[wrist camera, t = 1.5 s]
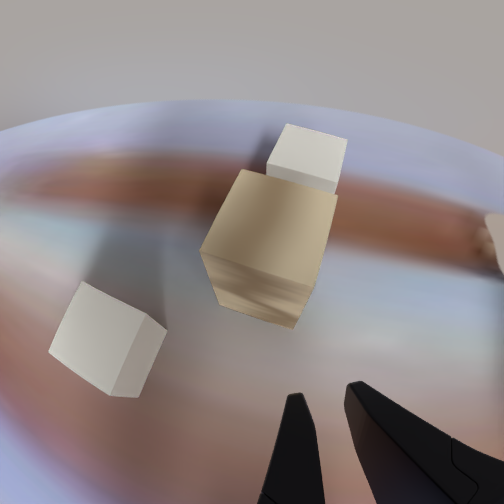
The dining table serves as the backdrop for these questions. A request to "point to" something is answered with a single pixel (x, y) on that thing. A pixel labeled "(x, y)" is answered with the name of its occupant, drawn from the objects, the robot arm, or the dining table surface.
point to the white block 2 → (307, 158)
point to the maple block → (268, 246)
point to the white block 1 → (107, 342)
